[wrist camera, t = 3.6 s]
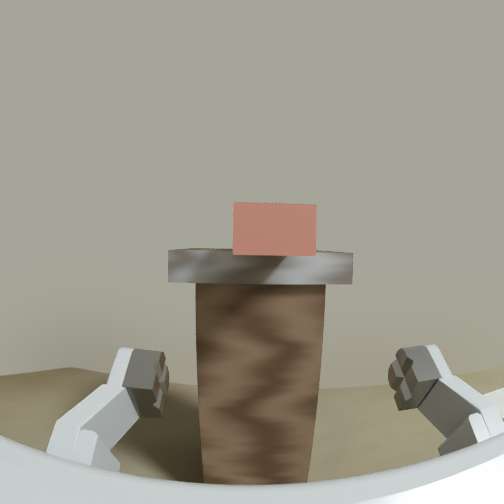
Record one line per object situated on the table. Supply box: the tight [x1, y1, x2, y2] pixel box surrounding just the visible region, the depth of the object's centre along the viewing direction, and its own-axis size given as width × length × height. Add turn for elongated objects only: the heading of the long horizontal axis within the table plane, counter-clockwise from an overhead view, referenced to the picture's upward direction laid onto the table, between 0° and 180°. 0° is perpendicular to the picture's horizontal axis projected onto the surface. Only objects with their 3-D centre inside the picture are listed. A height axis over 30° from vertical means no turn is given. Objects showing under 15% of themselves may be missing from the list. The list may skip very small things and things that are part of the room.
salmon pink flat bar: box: [233, 202, 316, 256], centre depth 26 cm, size 4×22×2 cm, turn 2°
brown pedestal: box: [168, 248, 353, 485], centre depth 30 cm, size 14×13×25 cm
